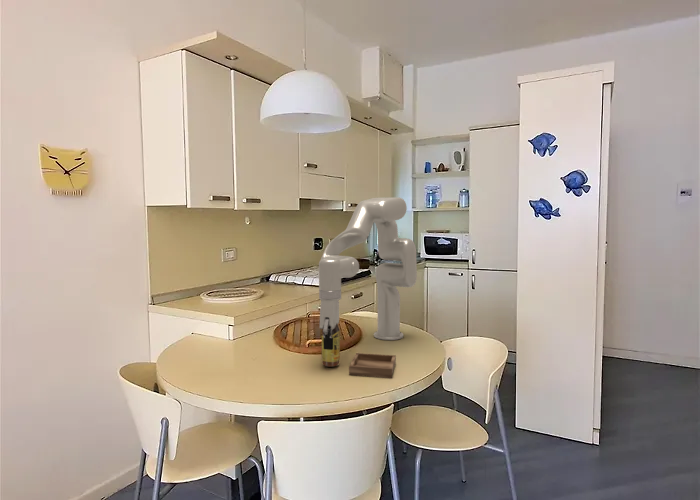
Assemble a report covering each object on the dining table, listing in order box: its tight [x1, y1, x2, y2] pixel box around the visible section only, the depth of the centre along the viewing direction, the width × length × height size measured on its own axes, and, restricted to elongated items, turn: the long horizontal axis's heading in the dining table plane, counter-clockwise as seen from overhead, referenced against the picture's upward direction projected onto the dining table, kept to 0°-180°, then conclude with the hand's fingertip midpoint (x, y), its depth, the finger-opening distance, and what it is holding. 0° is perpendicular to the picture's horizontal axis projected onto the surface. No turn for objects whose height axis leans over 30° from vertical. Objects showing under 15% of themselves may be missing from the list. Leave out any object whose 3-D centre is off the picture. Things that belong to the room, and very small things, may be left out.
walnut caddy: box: [348, 352, 397, 379], centre depth 150 cm, size 14×14×3 cm
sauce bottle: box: [321, 323, 341, 368], centre depth 152 cm, size 6×6×20 cm
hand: (330, 345), depth 152 cm, fingers closed on sauce bottle, 6 cm apart
